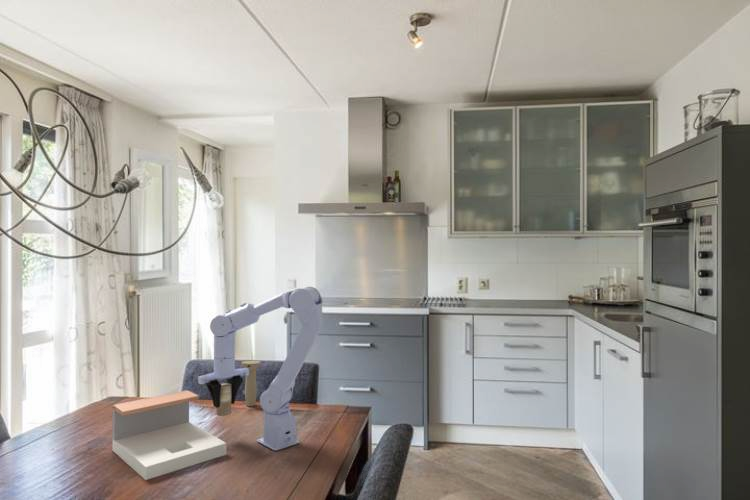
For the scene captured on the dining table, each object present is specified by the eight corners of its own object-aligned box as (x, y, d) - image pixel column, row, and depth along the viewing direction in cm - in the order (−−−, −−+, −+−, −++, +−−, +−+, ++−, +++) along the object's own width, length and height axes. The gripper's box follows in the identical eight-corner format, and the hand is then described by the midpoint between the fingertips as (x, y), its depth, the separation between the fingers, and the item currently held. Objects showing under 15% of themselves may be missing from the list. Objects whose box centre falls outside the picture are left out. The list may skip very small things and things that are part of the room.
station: (226, 454, 123) (226, 408, 123) (145, 480, 109) (146, 427, 109) (186, 430, 140) (187, 390, 140) (112, 450, 126) (112, 404, 126)
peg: (234, 413, 134) (234, 385, 135) (220, 416, 132) (220, 387, 132) (227, 410, 137) (227, 382, 137) (214, 413, 134) (214, 385, 134)
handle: (258, 407, 161) (258, 363, 162) (239, 407, 162) (239, 363, 162) (261, 403, 166) (262, 360, 167) (243, 403, 166) (243, 360, 167)
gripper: (240, 351, 143) (240, 396, 142) (193, 358, 132) (193, 407, 132) (252, 354, 138) (252, 401, 137) (204, 362, 127) (204, 413, 127)
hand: (224, 404), depth 134 cm, fingers closed on peg, 4 cm apart
